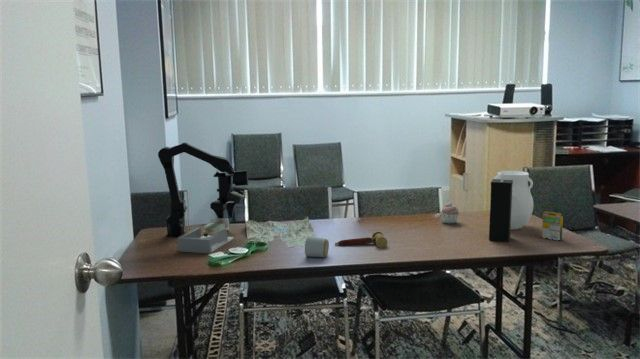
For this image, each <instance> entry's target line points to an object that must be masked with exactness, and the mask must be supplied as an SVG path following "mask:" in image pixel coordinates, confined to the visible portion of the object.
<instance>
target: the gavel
mask: <svg viewBox="0 0 640 359" xmlns="http://www.w3.org/2000/svg"><path fill="white" fill-rule="evenodd" d="M372 243H375V245H376V246H377V248H386V247H387V245H388V239H387V237H385V236H384V234H383V233H382V232H381V231H380V230H376V231H374V232H372V234H371V237H361V238H359V237H358V238H349V239H342V240H340V241H337V242H335V243H334V245H335V246H341V247H345V246H346V245H348V246H358V245H368V244H372Z"/></svg>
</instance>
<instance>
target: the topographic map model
mask: <svg viewBox="0 0 640 359" xmlns="http://www.w3.org/2000/svg"><path fill="white" fill-rule="evenodd" d="M287 224H288V225H287ZM286 226H287V227H286ZM284 227H285V228H284ZM283 229H284V230H283ZM245 231H246V239H249V240H247V242H248V243H250V242H249V241H261V242H266V243H265V244H268V243H269V242H272V241H274V240H275V238H277V237H278V238H279V239H280V241H282V242H285V246H286V248H295V246H297V247H305V242H306V239H307V237H308V236H310V237H317V236H316V234H315V232H314V227H313V226H312V224H311V222H310V220H309V216H308V215H307V216H305V218H304V219H302V220H301V219H298V220H295V221H290V222H289V223H283V222H279V221H272V220H268V221H266V222H261V221H259V222H257V221H255V220H245ZM282 234H283V235H282ZM285 234H286V235H285ZM252 238H253V239H252ZM254 239H255V240H254Z"/></svg>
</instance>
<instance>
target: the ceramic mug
mask: <svg viewBox="0 0 640 359" xmlns="http://www.w3.org/2000/svg"><path fill="white" fill-rule="evenodd" d="M304 244H305V246H304V254H305V257H310V258H326V257H327V256H328V254H329V249H330V242H329V240H328V239H327V238H324V237H317V236H316V237H310V236H308V237H307V239H306V242H305V243H304Z"/></svg>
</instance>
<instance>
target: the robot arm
mask: <svg viewBox="0 0 640 359" xmlns="http://www.w3.org/2000/svg"><path fill="white" fill-rule="evenodd" d="M183 153H185V154H188V155H189V156H192V157H194V158H196V159H199V160H201V161H203V162H206V163H208V164H209V165H211V166H212V167H213V168H215V169H216V172H215V173H214V174H213V178H217V183H218V184H217V186H218V188H217V189H216V193H217V192H218V198H216V199H217V200H214V201H212V202H210V204H209V208H210V210H212V211H213V212H214V214H215V215H216V216H217V217H216V218H225V211H227V212H226V213H227V215H228V217H229V219H232V218H233V215H234V211H235V208H236V206H237V205H240V204H241V203H243V201H244V199H245V198H246V197H245V196H246V194H245V191H243V190H239V191H235V189H234V187H232V184H233V185H234V186H235V187H242V186H245V187H247V186H248V184H249V183H248V182H249V181H248V180H249V178H248V170H247V169H246V170H245V169H244V170H235V168H234V167H232V165H231V161H230V159H229V158H227V157H224V156H219V155H215V154H212V153H209V152H208V151H207V152H206V151H204V150H203V149H200V148H197V146H193V145H192V144H189V143H188V142H182V143H180V144H177V145H175V146H170V147H169V146H164V147H162V148H160V149H159V151H158V154H157V156H158V159H159V162H160V164H161V166H162V167H163V169H164V174H165V176H166V177H165V179H166V182H167V187H168V191H169V197H170V213H169V215H168V216H167V217H166V219H165V221H166V233H167V234H165V237H170V238H171V237H173V238H178V237H180V236H182V235H184V234H186V232H185V229H184V228H185V227H184V224H183V222H184V221H183V220H182V219H183V217H184V216H185V214H186V212H187V210H188V206H187V205H186V200H185V199H184V200H183V199H182V198H181V194H180V190H179V185H178V181H177V176H176V171H175V156H178V155H180V154H183Z"/></svg>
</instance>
